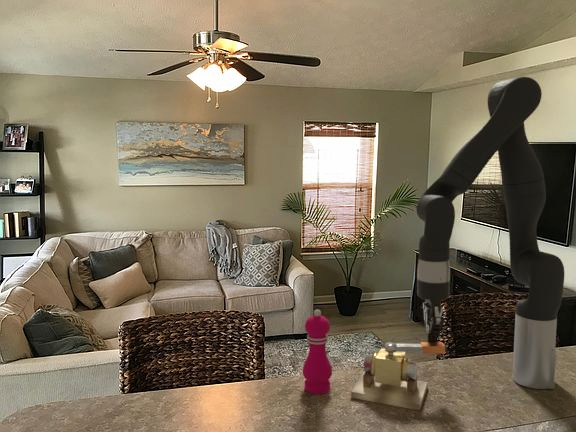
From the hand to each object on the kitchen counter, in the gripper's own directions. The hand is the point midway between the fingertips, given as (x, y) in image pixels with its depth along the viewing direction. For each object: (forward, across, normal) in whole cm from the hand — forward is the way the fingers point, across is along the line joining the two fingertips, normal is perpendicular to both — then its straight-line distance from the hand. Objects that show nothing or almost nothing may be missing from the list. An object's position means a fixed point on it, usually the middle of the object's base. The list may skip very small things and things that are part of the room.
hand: (431, 346), depth 122 cm
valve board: (+10, -4, +10) cm, 15 cm away
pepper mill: (+10, -2, +28) cm, 30 cm away
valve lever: (0, -3, +5) cm, 6 cm away
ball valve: (+7, -4, +10) cm, 13 cm away
